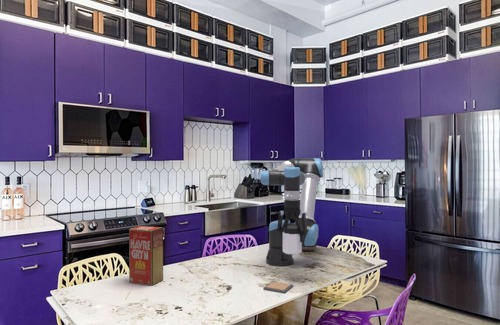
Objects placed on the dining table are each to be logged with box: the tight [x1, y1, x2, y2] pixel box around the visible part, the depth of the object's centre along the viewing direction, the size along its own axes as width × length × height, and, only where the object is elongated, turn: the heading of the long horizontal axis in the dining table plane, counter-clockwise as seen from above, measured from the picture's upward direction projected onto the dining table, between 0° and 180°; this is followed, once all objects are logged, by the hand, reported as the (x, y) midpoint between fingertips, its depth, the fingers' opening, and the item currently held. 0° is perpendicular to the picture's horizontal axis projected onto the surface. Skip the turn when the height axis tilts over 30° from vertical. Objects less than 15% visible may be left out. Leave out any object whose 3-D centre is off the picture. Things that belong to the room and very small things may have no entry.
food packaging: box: [128, 225, 164, 287], centre depth 167 cm, size 13×9×25 cm
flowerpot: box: [302, 234, 319, 252], centre depth 228 cm, size 14×15×20 cm
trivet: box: [263, 281, 294, 294], centre depth 158 cm, size 10×10×1 cm
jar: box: [283, 226, 303, 255], centre depth 169 cm, size 9×8×12 cm
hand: (292, 247), depth 169 cm, fingers closed on jar, 7 cm apart
